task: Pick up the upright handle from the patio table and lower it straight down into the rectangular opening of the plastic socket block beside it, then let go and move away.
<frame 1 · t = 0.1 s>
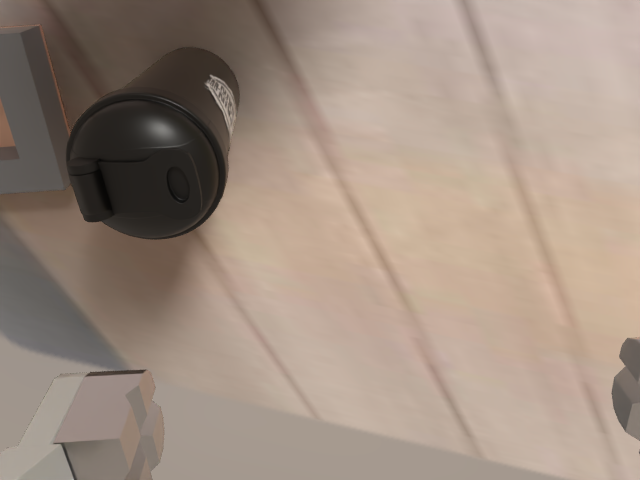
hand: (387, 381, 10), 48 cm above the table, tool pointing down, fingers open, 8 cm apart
water bottle: (194, 93, 56), on the table
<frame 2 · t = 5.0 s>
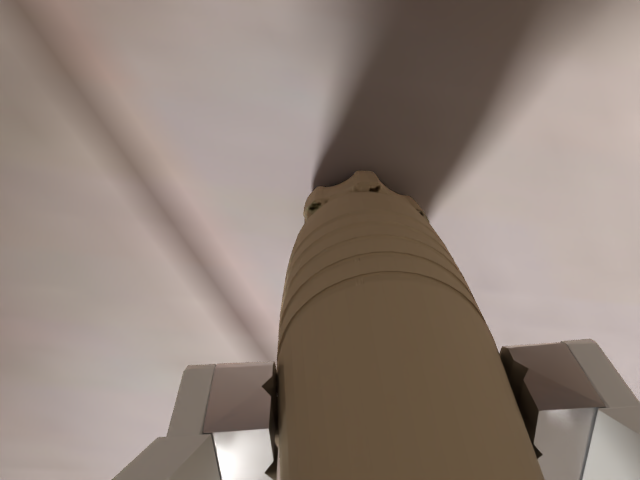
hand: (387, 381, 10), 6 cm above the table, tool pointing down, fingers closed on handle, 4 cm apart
handle: (357, 219, 16), on the table, touching gripper
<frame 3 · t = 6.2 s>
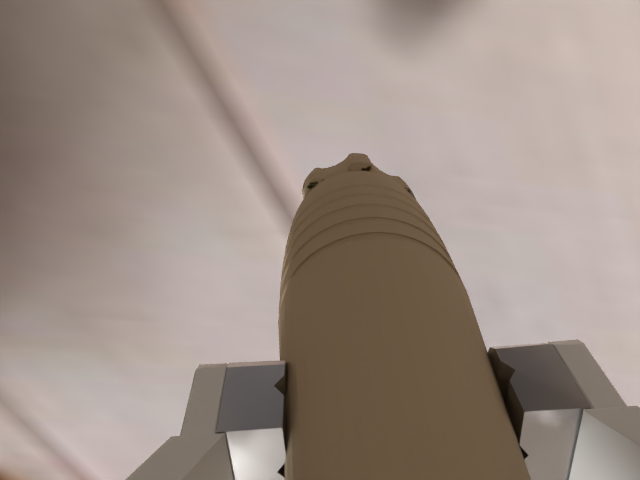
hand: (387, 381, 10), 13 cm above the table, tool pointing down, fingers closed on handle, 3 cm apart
handle: (351, 199, 17), point 5 cm above the table, touching gripper
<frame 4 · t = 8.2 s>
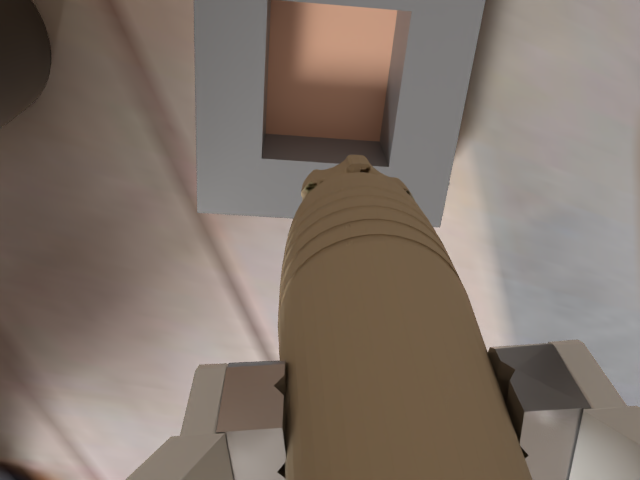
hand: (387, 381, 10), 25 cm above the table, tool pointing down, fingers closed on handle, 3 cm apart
handle: (350, 200, 17), point 17 cm above the table, touching gripper
socket block: (328, 68, 32), on the table
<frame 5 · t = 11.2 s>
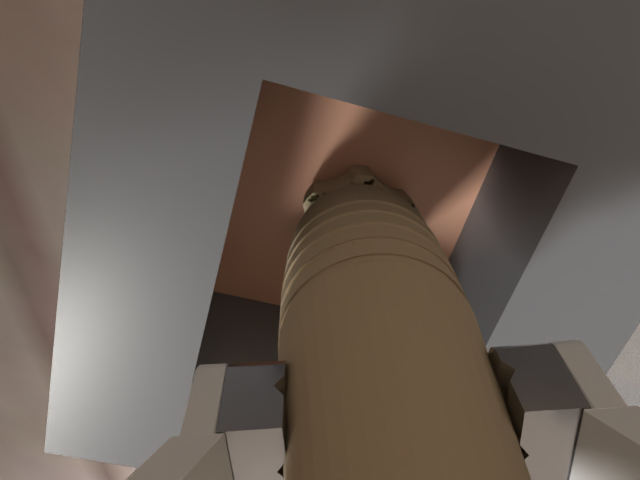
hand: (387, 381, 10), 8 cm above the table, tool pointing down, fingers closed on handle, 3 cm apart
handle: (353, 212, 17), resting on socket block, touching gripper
socket block: (351, 199, 17), on the table
when the fingers open (8 cm above the table, at t = 11.5 s): handle stays where it is, resting on socket block.
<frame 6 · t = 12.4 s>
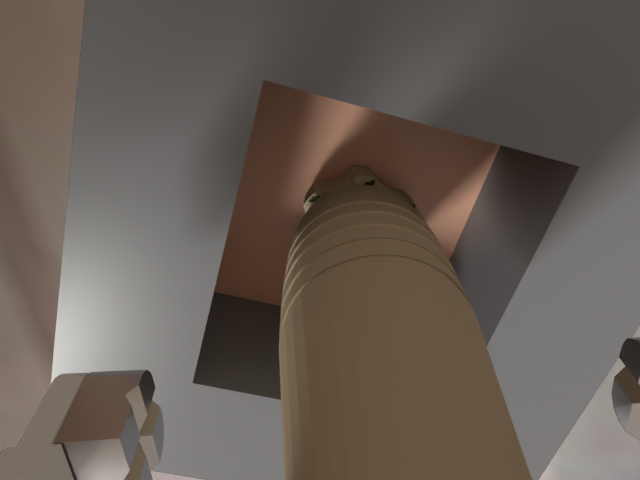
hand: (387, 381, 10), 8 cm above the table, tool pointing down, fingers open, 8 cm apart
handle: (354, 212, 17), resting on socket block
socket block: (352, 200, 17), on the table
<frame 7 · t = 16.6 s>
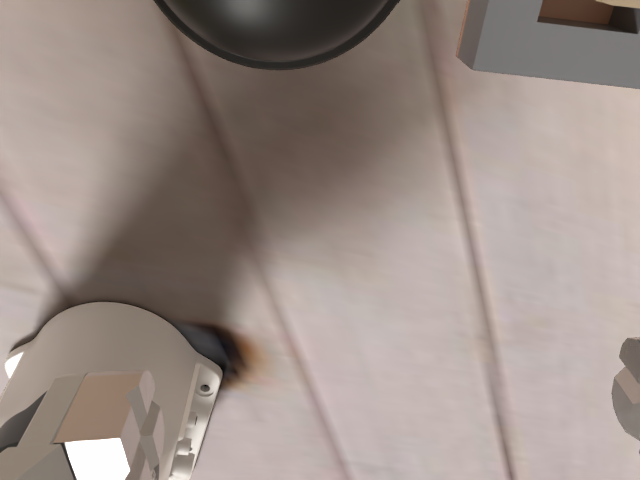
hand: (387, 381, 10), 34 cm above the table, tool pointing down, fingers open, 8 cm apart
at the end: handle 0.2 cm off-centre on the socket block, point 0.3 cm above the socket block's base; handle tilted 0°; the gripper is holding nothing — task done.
